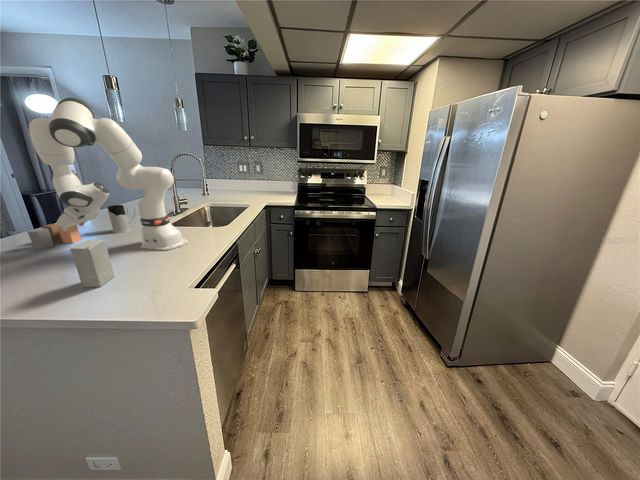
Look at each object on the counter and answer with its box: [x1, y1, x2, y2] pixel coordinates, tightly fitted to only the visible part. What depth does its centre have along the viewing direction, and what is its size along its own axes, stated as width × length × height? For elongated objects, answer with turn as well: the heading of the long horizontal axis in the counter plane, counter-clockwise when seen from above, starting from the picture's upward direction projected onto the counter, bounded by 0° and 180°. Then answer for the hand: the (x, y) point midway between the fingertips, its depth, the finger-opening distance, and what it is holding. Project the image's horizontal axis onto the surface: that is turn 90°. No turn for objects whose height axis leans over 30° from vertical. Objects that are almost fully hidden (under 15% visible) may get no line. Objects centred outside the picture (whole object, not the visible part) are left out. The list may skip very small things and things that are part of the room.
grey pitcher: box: [107, 204, 137, 234], centre depth 154 cm, size 9×14×15 cm, turn 152°
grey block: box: [27, 227, 55, 250], centre depth 128 cm, size 5×5×9 cm
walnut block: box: [41, 223, 63, 244], centre depth 136 cm, size 5×5×9 cm
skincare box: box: [69, 239, 115, 288], centre depth 94 cm, size 8×7×16 cm
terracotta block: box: [58, 224, 82, 244], centre depth 136 cm, size 5×5×9 cm
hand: (72, 227), depth 134 cm, fingers open, 8 cm apart
